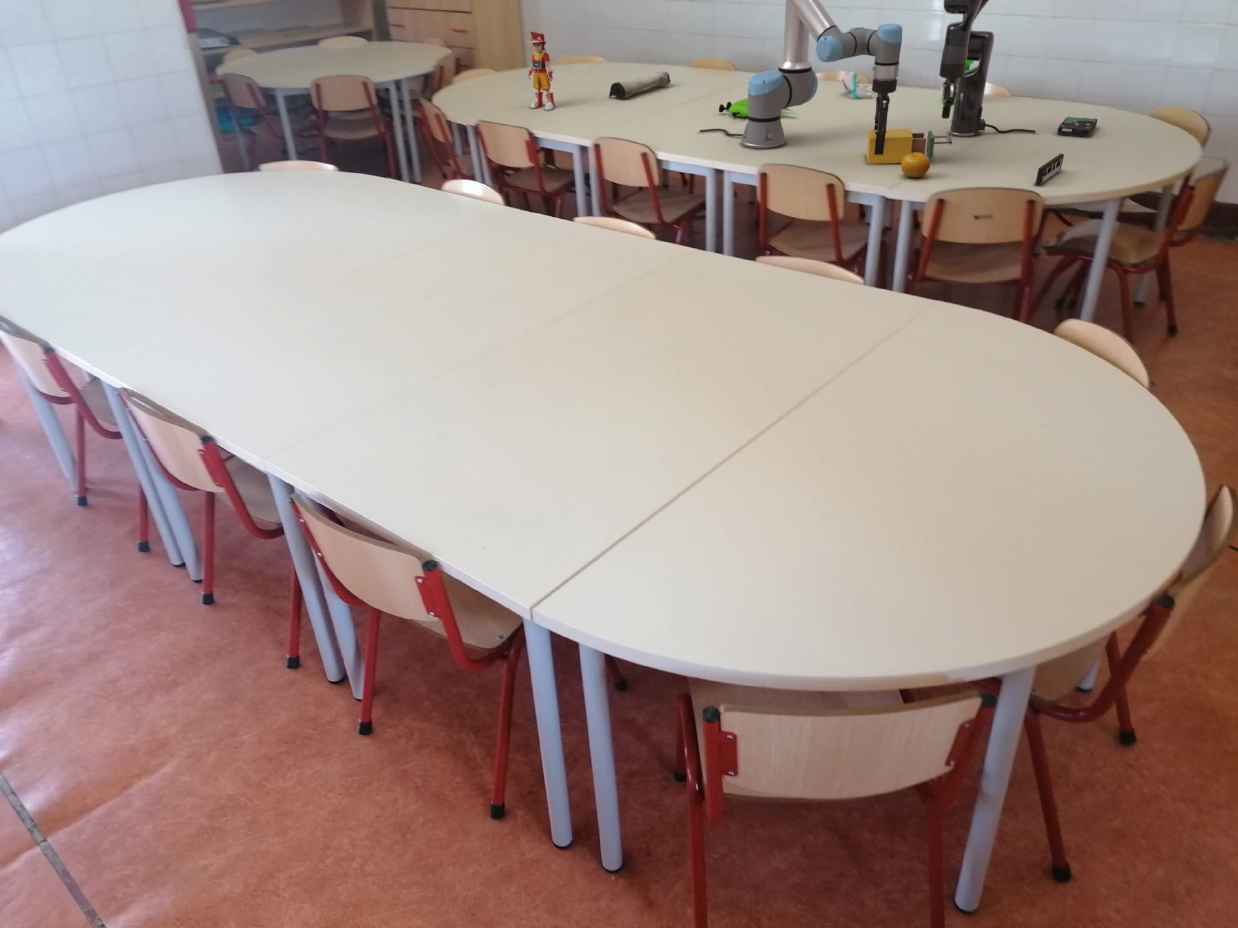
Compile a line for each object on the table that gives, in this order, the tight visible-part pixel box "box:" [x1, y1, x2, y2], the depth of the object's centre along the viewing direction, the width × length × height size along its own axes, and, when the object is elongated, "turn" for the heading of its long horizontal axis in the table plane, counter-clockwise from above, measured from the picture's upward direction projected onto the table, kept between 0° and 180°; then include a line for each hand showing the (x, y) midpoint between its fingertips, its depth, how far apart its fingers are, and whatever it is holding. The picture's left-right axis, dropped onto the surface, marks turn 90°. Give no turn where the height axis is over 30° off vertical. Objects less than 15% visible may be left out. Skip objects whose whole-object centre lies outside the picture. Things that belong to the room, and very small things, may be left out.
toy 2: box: [718, 97, 794, 118], centre depth 353 cm, size 28×5×30 cm
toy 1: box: [527, 31, 556, 111], centre depth 374 cm, size 12×9×30 cm
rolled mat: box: [608, 71, 672, 101], centre depth 395 cm, size 30×9×10 cm
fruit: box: [900, 152, 931, 178], centre depth 281 cm, size 8×8×8 cm
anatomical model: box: [841, 70, 873, 100], centre depth 370 cm, size 15×10×10 cm
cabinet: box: [865, 128, 913, 165], centre depth 296 cm, size 13×10×8 cm
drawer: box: [911, 130, 954, 160], centre depth 294 cm, size 18×9×6 cm, turn 80°
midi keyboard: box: [1035, 153, 1065, 186], centre depth 273 cm, size 18×1×5 cm, turn 138°
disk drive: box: [1057, 116, 1098, 137], centre depth 313 cm, size 10×3×15 cm
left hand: (877, 149), depth 297 cm, fingers closed on cabinet, 10 cm apart
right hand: (945, 118), depth 288 cm, fingers closed
